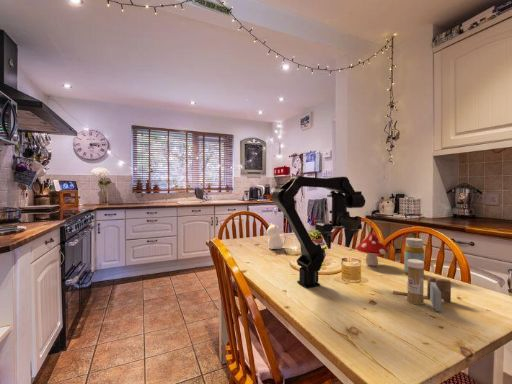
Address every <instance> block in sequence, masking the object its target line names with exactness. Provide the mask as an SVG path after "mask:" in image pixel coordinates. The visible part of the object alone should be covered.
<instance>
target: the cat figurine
mask: <svg viewBox="0 0 512 384" xmlns="http://www.w3.org/2000/svg"><path fill="white" fill-rule="evenodd" d="M280 234H281V229H280V227H279V226H278V225H277V224H273V223H271V222H270V223H269V226H268V228H267V229H266V235H267V236H268V237H269V238H268V240H267V246H268V249H269V248H270V250H272V249H277V250H282V249H283V247H284V246H285V245H286V242H285V237H286V238H287V235H286V233H285V232H283V233H282V235H283V237H282V238H283V240H282V238H281V236H280Z"/></svg>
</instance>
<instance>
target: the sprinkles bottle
mask: <svg viewBox="0 0 512 384" xmlns="http://www.w3.org/2000/svg"><path fill="white" fill-rule="evenodd" d="M407 265H408V275H407V286H406V287H407V288H406V289H407V293H408V296H407V302H409V303H411V304H413V305H423V304H424V298H423V295H424V289H425V288H424V281H425V280H424V279H425V278H424V275H423V269H425V261H424V262H423V261H421V260H417V259H408V261H407Z"/></svg>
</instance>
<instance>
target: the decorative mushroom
mask: <svg viewBox="0 0 512 384" xmlns="http://www.w3.org/2000/svg"><path fill="white" fill-rule="evenodd" d="M355 250H357V251H359V252H360V253H364V254H366V257H365V264H366V265H368V266H370V267H376V266H377V265H378V264H379V259H378V255H386V254H388V253H389V250H388V248H387V247H386V246H385V244H384V243H382V242H381V240H380V239H379V236H377V235H376V234H374V233H370V234H368V235H367V236H366V237H365V238H363V240H362V241H361V242H360V243H358V244H357V245H356V246H355Z"/></svg>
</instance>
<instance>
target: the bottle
mask: <svg viewBox="0 0 512 384" xmlns="http://www.w3.org/2000/svg"><path fill="white" fill-rule="evenodd" d="M408 259H417V260H421V261H423V262H424V263H425V250H424V240H423V239H422V238H416V237H405V247H404V261H403V262H404V263H403V264H404V265H403V270H404V271H403V272H404V273H405V275H407V276H408V265H407V261H408ZM424 269H425V268H424ZM424 269H423V276H424V274H425V270H424Z"/></svg>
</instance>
